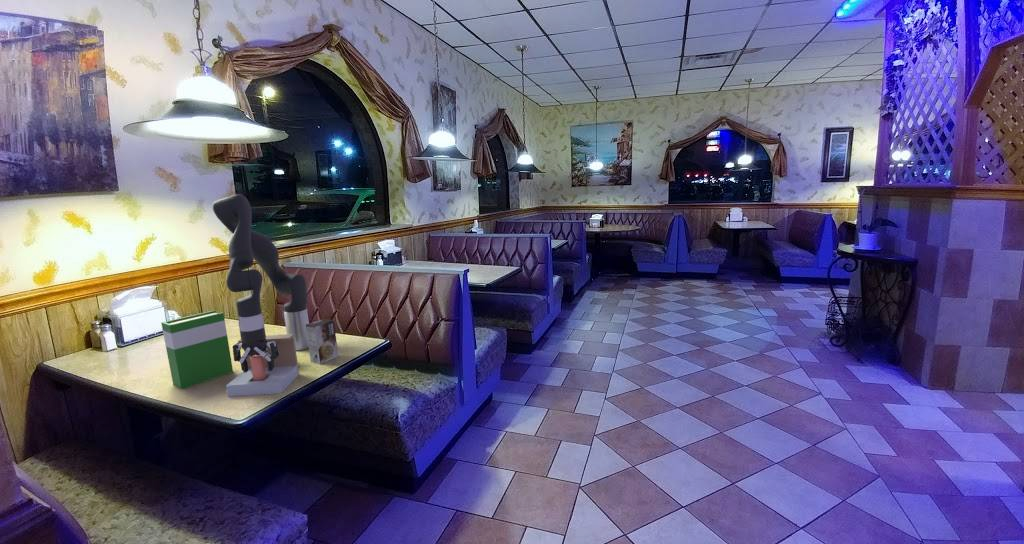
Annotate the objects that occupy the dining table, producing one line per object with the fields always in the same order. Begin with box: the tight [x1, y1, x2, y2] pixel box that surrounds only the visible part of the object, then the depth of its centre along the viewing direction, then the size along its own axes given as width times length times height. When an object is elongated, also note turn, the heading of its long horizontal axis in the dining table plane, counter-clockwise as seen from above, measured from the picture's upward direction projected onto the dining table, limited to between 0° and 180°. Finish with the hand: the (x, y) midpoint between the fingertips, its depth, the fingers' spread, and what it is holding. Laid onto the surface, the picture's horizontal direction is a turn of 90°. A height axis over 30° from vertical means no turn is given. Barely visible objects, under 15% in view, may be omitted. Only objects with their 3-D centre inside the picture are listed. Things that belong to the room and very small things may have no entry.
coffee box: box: [306, 318, 339, 365], centre depth 188 cm, size 9×6×16 cm
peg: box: [250, 355, 266, 381], centre depth 163 cm, size 4×4×12 cm
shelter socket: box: [225, 333, 300, 397], centre depth 166 cm, size 16×18×16 cm
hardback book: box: [160, 310, 234, 390], centre depth 173 cm, size 18×7×24 cm, turn 145°
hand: (258, 370), depth 163 cm, fingers open, 8 cm apart
